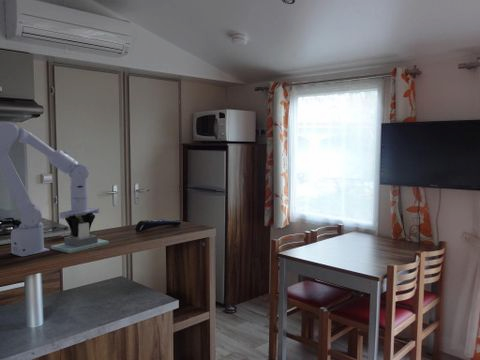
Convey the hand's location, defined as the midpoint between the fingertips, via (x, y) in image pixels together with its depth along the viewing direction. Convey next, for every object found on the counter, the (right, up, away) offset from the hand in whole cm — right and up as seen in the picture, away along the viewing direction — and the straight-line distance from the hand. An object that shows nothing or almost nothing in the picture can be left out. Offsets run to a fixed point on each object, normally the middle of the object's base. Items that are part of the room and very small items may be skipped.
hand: (80, 235), depth 145 cm
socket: (0, -4, 0) cm, 4 cm away
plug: (0, -1, 0) cm, 2 cm away
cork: (-8, -3, +18) cm, 20 cm away
